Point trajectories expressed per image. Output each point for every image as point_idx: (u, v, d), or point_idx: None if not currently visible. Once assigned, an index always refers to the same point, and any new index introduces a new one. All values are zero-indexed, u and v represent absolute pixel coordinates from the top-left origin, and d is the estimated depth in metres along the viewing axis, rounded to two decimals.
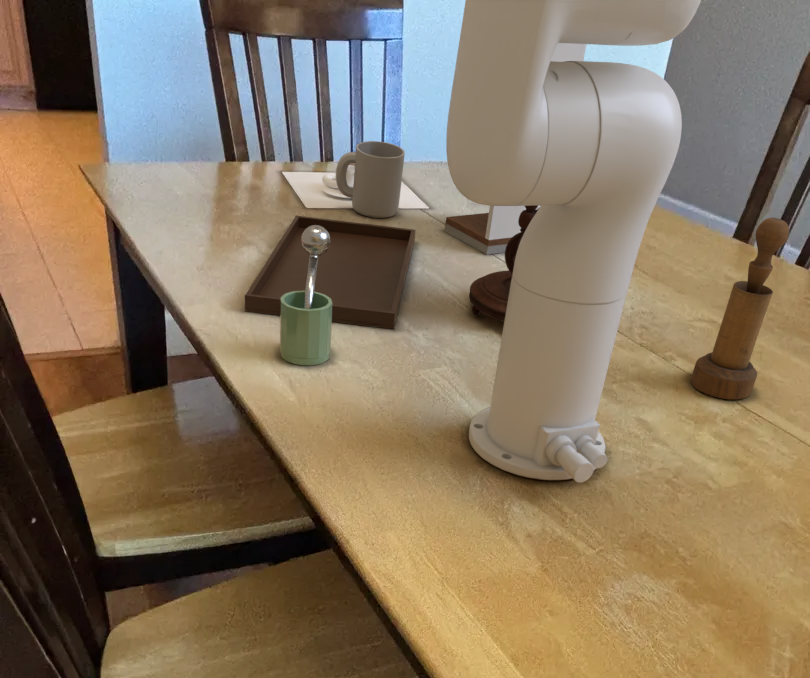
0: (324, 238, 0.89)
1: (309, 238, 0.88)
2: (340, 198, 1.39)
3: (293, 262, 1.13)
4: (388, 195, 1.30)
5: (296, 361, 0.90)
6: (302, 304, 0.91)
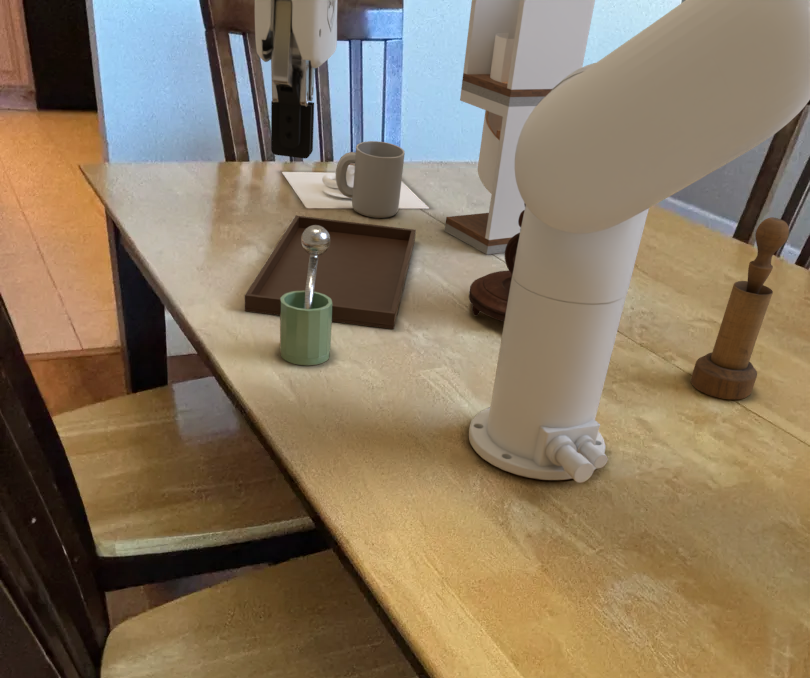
0: (324, 238, 0.89)
1: (309, 238, 0.88)
2: (340, 198, 1.39)
3: (293, 262, 1.13)
4: (388, 195, 1.30)
5: (296, 361, 0.90)
6: (302, 304, 0.91)
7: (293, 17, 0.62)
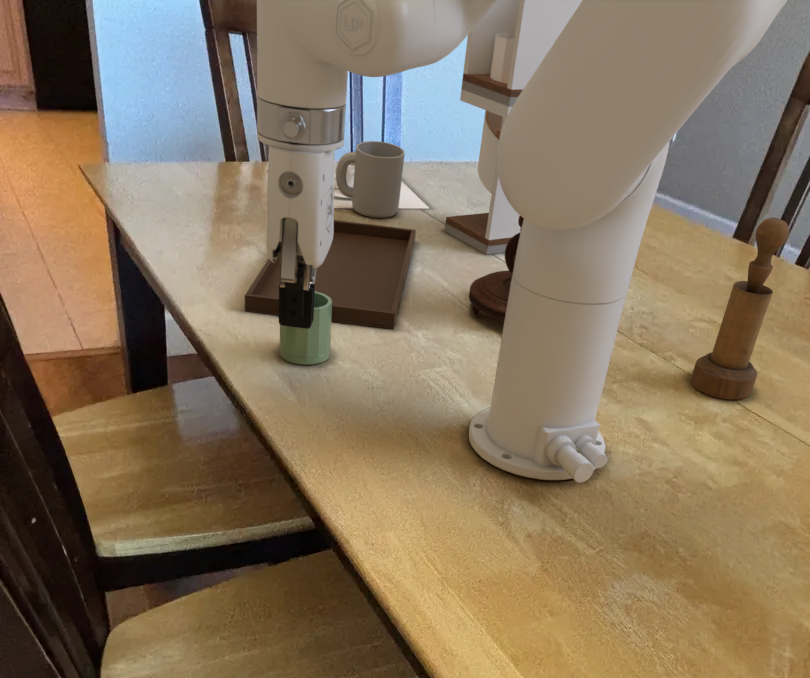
0: None
1: None
2: (340, 198, 1.39)
3: None
4: (388, 195, 1.30)
5: (295, 360, 0.90)
6: None
7: (298, 234, 0.76)
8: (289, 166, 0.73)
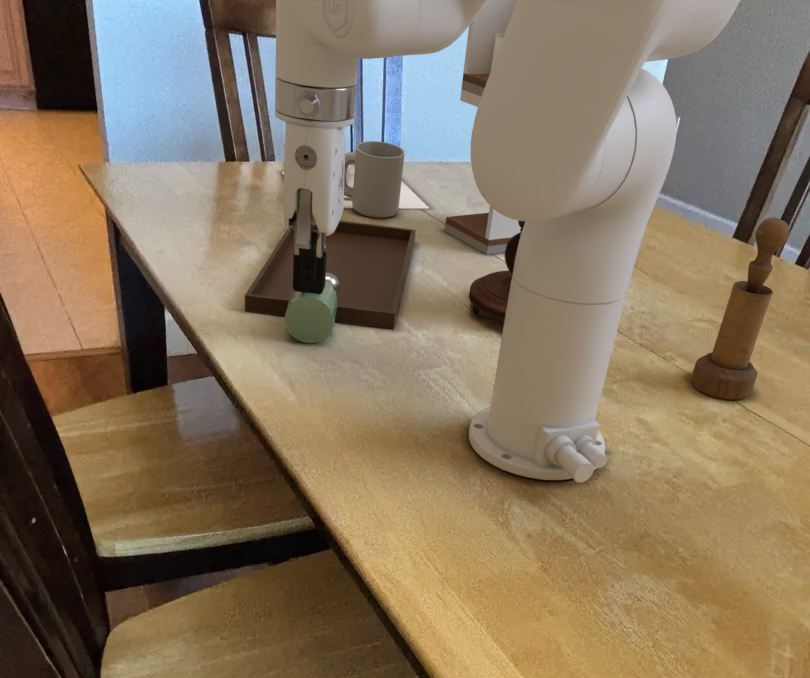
0: (336, 277, 1.03)
1: None
2: None
3: None
4: (388, 195, 1.30)
5: (305, 295, 0.92)
6: None
7: (313, 204, 0.83)
8: (305, 140, 0.80)
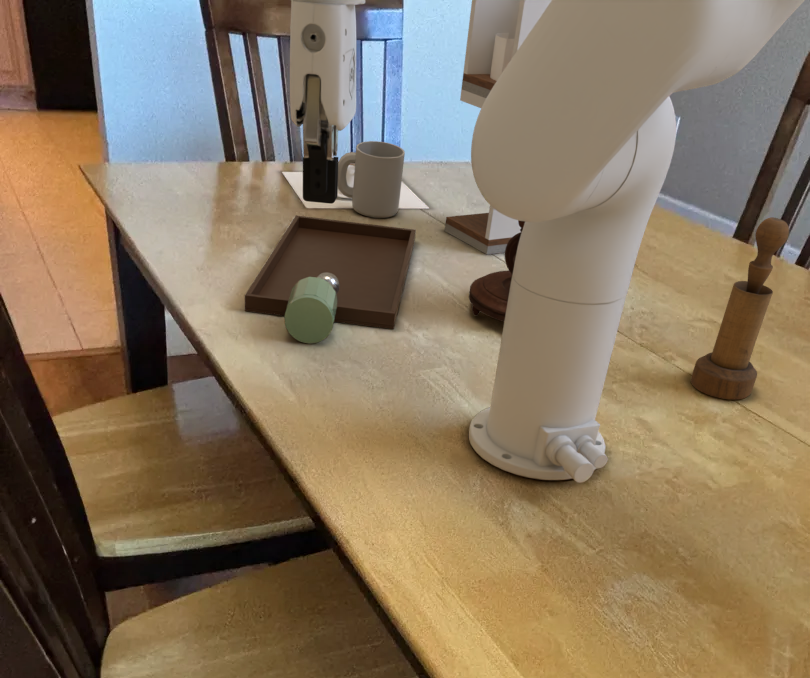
0: (335, 276, 1.03)
1: (322, 273, 1.02)
2: (340, 198, 1.39)
3: (293, 262, 1.13)
4: (388, 195, 1.30)
5: (304, 296, 0.92)
6: None
7: (322, 91, 0.76)
8: (311, 18, 0.73)
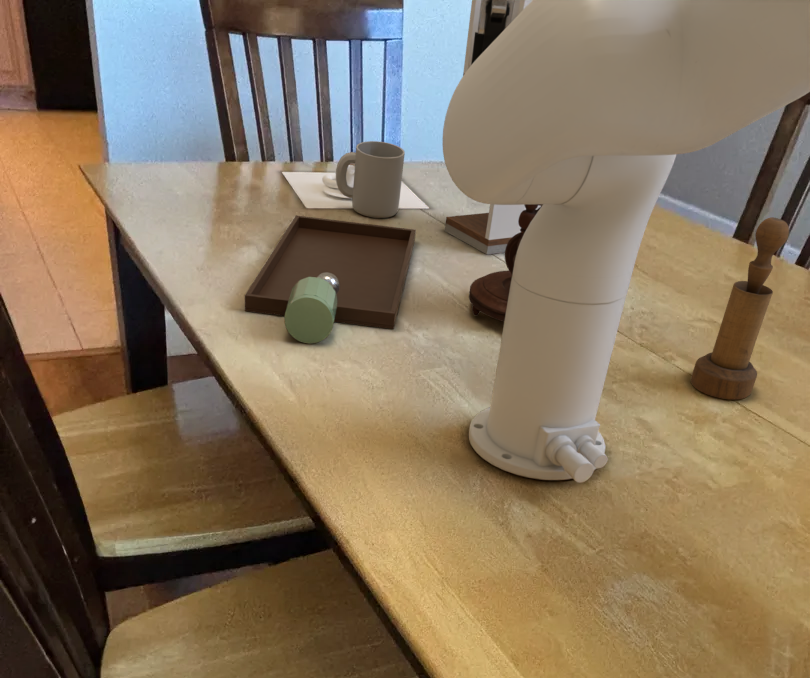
0: (335, 276, 1.03)
1: (322, 273, 1.02)
2: (340, 198, 1.39)
3: (293, 262, 1.13)
4: (388, 195, 1.30)
5: (304, 296, 0.92)
6: None
7: None
8: None
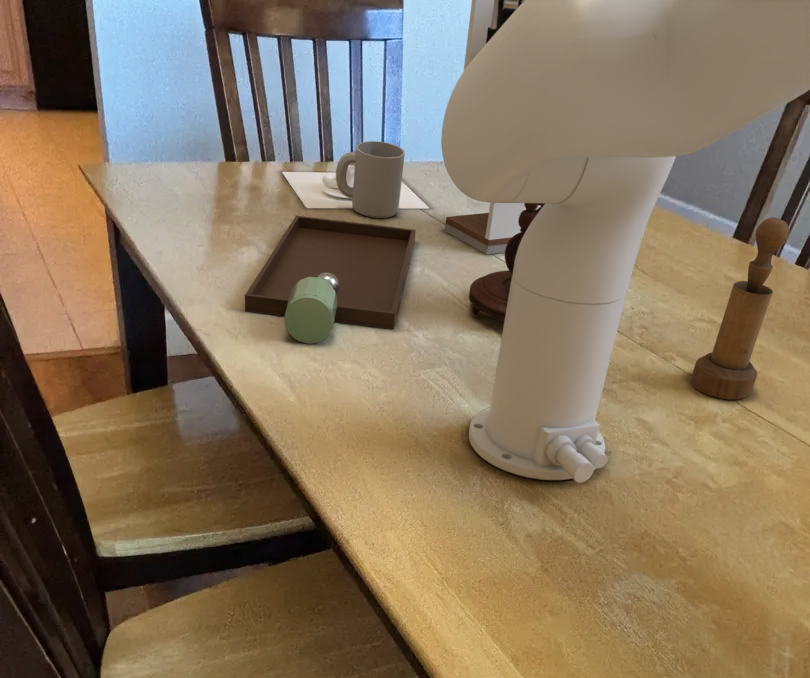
0: (335, 276, 1.03)
1: (322, 273, 1.02)
2: (340, 198, 1.39)
3: (293, 262, 1.13)
4: (388, 195, 1.30)
5: (304, 296, 0.92)
6: None
7: None
8: None
